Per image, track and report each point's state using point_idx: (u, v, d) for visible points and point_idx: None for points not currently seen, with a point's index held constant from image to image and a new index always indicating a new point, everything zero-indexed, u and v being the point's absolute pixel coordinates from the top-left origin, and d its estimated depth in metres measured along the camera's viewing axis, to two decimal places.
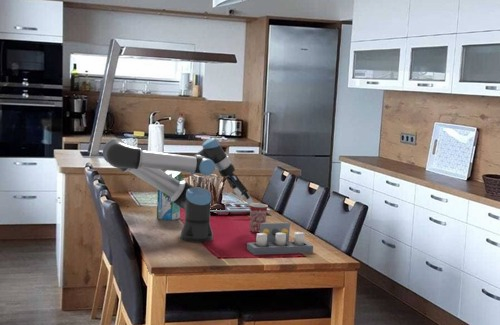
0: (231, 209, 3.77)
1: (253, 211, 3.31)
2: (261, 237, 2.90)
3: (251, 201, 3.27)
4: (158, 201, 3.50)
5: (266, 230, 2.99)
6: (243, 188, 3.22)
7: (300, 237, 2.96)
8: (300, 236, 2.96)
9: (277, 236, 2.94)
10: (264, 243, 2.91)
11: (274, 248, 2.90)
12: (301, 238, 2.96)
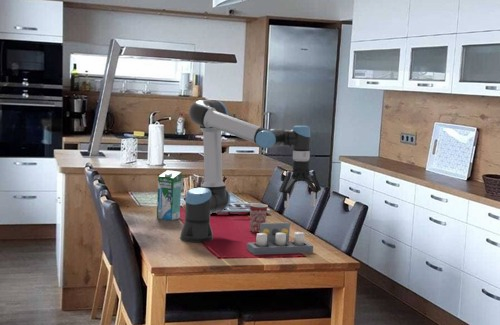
0: (231, 209, 3.77)
1: (253, 211, 3.31)
2: (261, 237, 2.90)
3: (286, 206, 2.97)
4: (158, 201, 3.50)
5: (266, 230, 2.99)
6: (282, 187, 2.95)
7: (300, 237, 2.96)
8: (300, 236, 2.96)
9: (277, 236, 2.94)
10: (264, 243, 2.91)
11: (274, 248, 2.90)
12: (301, 238, 2.96)
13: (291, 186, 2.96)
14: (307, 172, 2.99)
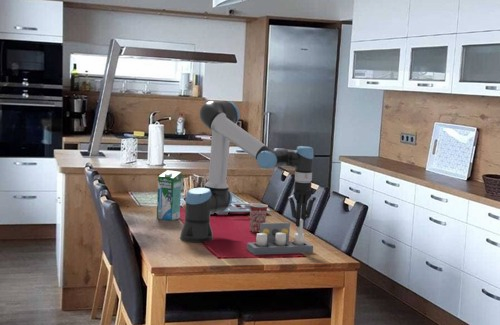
0: (231, 209, 3.77)
1: (253, 211, 3.31)
2: (261, 237, 2.90)
3: (298, 232, 2.97)
4: (158, 201, 3.50)
5: (266, 230, 2.99)
6: (292, 213, 2.95)
7: (300, 238, 2.96)
8: (300, 237, 2.96)
9: (277, 236, 2.94)
10: (264, 243, 2.91)
11: (274, 248, 2.90)
12: (301, 239, 2.96)
13: (300, 210, 2.95)
14: (309, 193, 2.96)
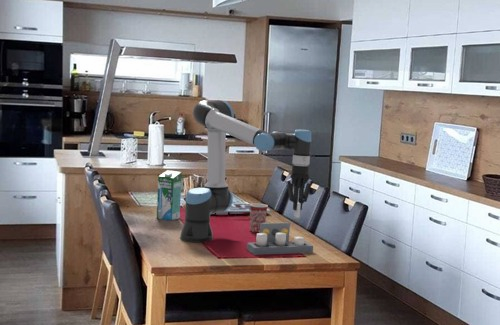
0: (231, 209, 3.77)
1: (253, 211, 3.31)
2: (261, 237, 2.90)
3: (295, 215, 2.96)
4: (158, 201, 3.50)
5: (266, 230, 2.99)
6: (290, 196, 2.94)
7: (300, 242, 2.96)
8: (299, 240, 2.96)
9: (277, 236, 2.94)
10: (264, 243, 2.91)
11: (274, 248, 2.90)
12: (300, 242, 2.96)
13: (297, 194, 2.94)
14: (307, 177, 2.95)
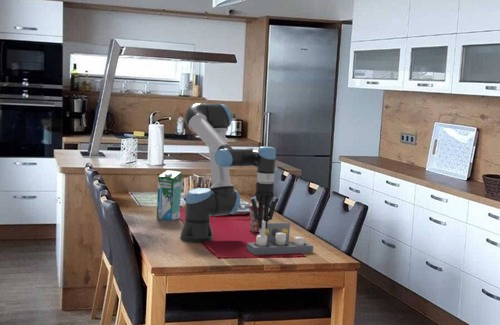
0: None
1: None
2: (261, 239, 2.90)
3: (261, 234, 2.91)
4: (158, 201, 3.50)
5: (266, 230, 2.99)
6: (254, 215, 2.89)
7: (300, 242, 2.96)
8: (299, 240, 2.96)
9: (277, 236, 2.94)
10: (264, 245, 2.91)
11: (274, 248, 2.90)
12: (300, 242, 2.96)
13: (262, 212, 2.89)
14: (272, 195, 2.90)
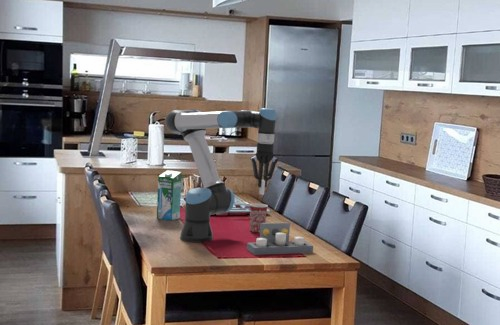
0: (230, 210, 3.76)
1: (253, 211, 3.31)
2: (260, 242, 2.90)
3: (260, 192, 3.02)
4: (158, 201, 3.50)
5: (266, 230, 2.99)
6: (254, 174, 3.01)
7: (300, 242, 2.96)
8: (299, 240, 2.96)
9: (277, 236, 2.94)
10: None
11: (274, 248, 2.90)
12: (300, 242, 2.96)
13: (262, 171, 3.00)
14: (271, 155, 3.01)
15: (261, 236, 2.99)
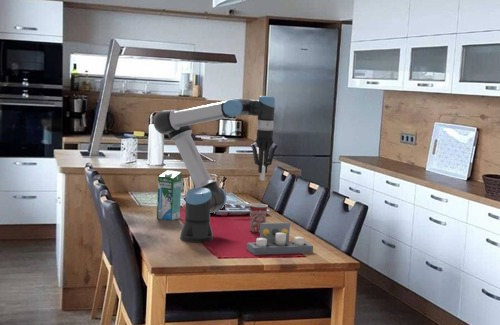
0: (230, 210, 3.76)
1: (253, 211, 3.31)
2: (260, 242, 2.90)
3: (261, 178, 3.11)
4: (158, 201, 3.50)
5: (266, 230, 2.99)
6: (255, 160, 3.09)
7: (300, 242, 2.96)
8: (299, 240, 2.96)
9: (277, 236, 2.94)
10: None
11: (274, 248, 2.90)
12: (300, 242, 2.96)
13: (262, 157, 3.09)
14: (271, 141, 3.10)
15: (261, 236, 2.99)
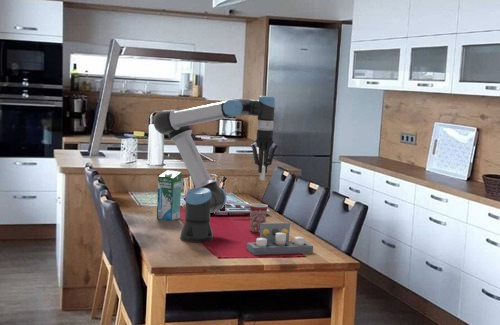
0: (230, 210, 3.75)
1: (253, 211, 3.31)
2: (260, 242, 2.90)
3: (261, 178, 3.11)
4: (158, 201, 3.50)
5: (266, 230, 2.99)
6: (255, 160, 3.09)
7: (300, 242, 2.96)
8: (299, 240, 2.96)
9: (277, 236, 2.94)
10: None
11: (274, 248, 2.90)
12: (300, 242, 2.96)
13: (262, 157, 3.09)
14: (271, 141, 3.10)
15: (261, 236, 2.99)
